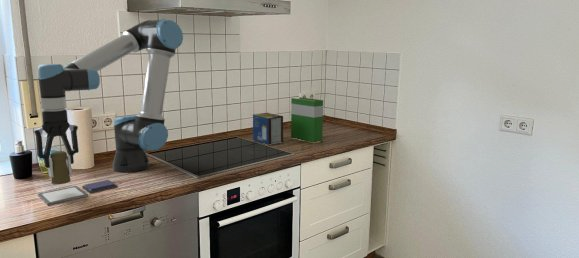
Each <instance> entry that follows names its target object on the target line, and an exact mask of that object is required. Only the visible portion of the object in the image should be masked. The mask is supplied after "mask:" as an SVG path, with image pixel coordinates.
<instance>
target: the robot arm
mask: <svg viewBox="0 0 579 258" xmlns="http://www.w3.org/2000/svg"><path fill="white" fill-rule="evenodd" d="M183 40H184V35H183V31H182V28H181V27H180V25H179V24H178V23H177V22H176V21H174V20H171V19H166V18H165V19H164V18H163V19H162V18H161V19H153V20H152V19H149V20H145V21H141V22H139V23H138V24H136V25H134V26H132V27H130V28H128V29H127V30H126V29H125V30H124V31H123V32H122V35H121V36H119V37H117V38H115V39H113V40H111V41H109V42H107V43H106V44H104V45H102V46H100V47H98V48H96V49H94V50H92V51H90V52H88V53H86V54H84V55H83V56H81V57H79V58H77V59H75V60H72V62H69V63H67V64H65V65H62V64H60V63H43V64H39V65H38V67H37V79H38V85H39V93H40V104H41V109H42V111H41V116H42V125H41V127H39V128H33V130H32V131H33V133H34V135H35V141H36V144H35V145H36V156H37V157H38V158H39V159H43V161H44V167H45V168H46V169H48V176H49V177H50V178H52V177H54V176H53V166H52V164H53V161H52V159H51V158H50V155H51V151H52V147H53V145H52V144H53V141H54V138H57V137H60V138H61V140H62V143H63V146H64V147H65V150H66V153H67V159H66V164H67V168H68V172H69V175H72V173H73V172H72V171H73V170H72V165H74V163H75V161H74V155H75V154H78V153H79V152H80V151H79V141H78V134H77V132H78V130H79V129H78V128H79V126H78V125H76V124H70V123H69V120H68V119H69V118H68V110H67V96H66V92H76V91H77V92H78V91H90V90H96V89H98V88H99V87H100V84H101V77H100V74H99V71H101V70H103V69H104V68H106V67H108V66H110V65H111V64H113V63H115V62H116V61H118V60H121V59H122V58H124V57H126V56H128V55H129V54H131V53H134V54H135V53H136V54H137V53H138V52H140V51H143V50H145V51H146V52H147V53H148V59H147V67H146V71H145V72H146V73H145V79H144V85H143V91H142V99H141V106H140V111H139V112H138V113H137V114H134V115H132V114H131V115H126V116H125V115H124V116H123V115H122V116H119V117H116V118H114V120H113V129H114V141H115V154H114V158H113V162H112V170H113V171H116V172H120V173H132V172H133V173H135V172H139V171H143V170H147V169H148V168H149V167H150V160H149V158H148V155H147V152H146V151H156V150H157V151H158V150H159V149H161V148H162V147H164V146H165V144H166V142H167V141H168V139H169V130H168V129H167V126H165V121H166V120H165V119H166V118H164V115H163V109H164V108H163V107H164V103H165V96H166V89H167V84H168V83H167V82H168V77H169V76H168V75H169V68H170V64H171V59H172V58H174V57H175V55H176V49H178V48H179V47H180V46H182V44H183ZM68 130H70V137H71V144H70V142H69V139H68V135H67V134H66V133H67V131H68ZM43 131H44V132H45V134H46V141H45V147H43V138H42V135H43ZM71 146H72V147H71ZM43 148H44V149H43Z"/></svg>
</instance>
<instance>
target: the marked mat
mask: <svg viewBox="0 0 579 258" xmlns="http://www.w3.org/2000/svg"><path fill="white" fill-rule="evenodd" d="M37 196H38V198H40V199H41V201H42V202H44V203H45V204H46V205H47V206H52V205H58V204H60V203H65V202H69V201H73V200H78V199H84V198H87V197H89V193H88V192H87V191H85V190H84V189H83V188H82V189H81V188H80V187H79V186H78V185H73V186H68V187H63V188H59V189H53V190H49V191H43V192H38V193H37Z"/></svg>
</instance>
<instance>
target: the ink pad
mask: <svg viewBox="0 0 579 258" xmlns="http://www.w3.org/2000/svg"><path fill="white" fill-rule="evenodd" d="M81 187H82V190H84V191H85V192H87V193H88V194H93V193H97V192H102V191H105V190H111V189H115V188H118V184H116V183H114V182H113V181H111V180H110V179H106V180H101V181H96V182H90V183H86V184H84V185H82V186H81Z"/></svg>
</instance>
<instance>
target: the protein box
mask: <svg viewBox="0 0 579 258" xmlns="http://www.w3.org/2000/svg"><path fill="white" fill-rule="evenodd" d="M253 140H255V141H258V142H257V143H259V142H261V143H260V144H262V143H265V144H268V145H269V144H274V143H279V142H283V143H284V115H279V114H274V113H270V112H262V113H253V114H252V141H253ZM255 141H254V142H255ZM265 144H264V145H265ZM268 145H267V146H268ZM269 146H270V145H269Z"/></svg>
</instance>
